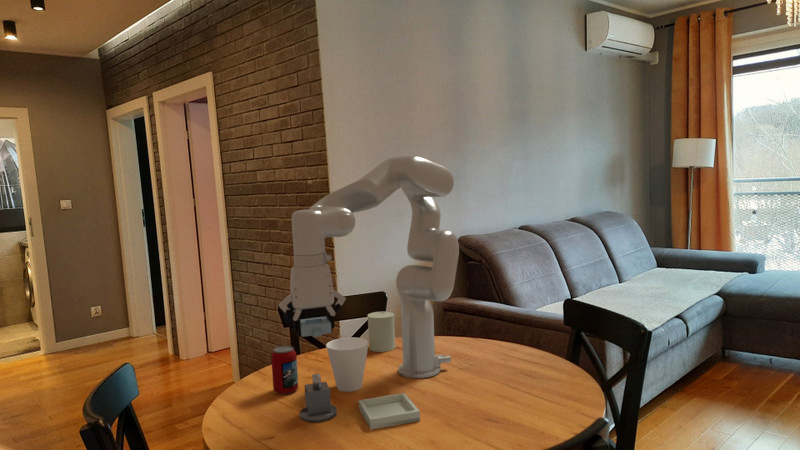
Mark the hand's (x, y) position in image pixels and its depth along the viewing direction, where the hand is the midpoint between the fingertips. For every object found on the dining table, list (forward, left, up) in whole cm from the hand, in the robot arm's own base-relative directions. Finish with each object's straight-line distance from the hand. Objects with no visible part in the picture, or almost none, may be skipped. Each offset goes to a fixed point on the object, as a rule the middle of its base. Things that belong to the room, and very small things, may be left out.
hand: (314, 332), depth 135 cm
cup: (-11, -15, -21) cm, 28 cm away
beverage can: (+6, -19, -21) cm, 29 cm away
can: (-29, -46, -21) cm, 58 cm away
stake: (0, 0, -21) cm, 21 cm away
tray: (-16, +7, -21) cm, 27 cm away
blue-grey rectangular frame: (0, 0, 0) cm, 0 cm away
